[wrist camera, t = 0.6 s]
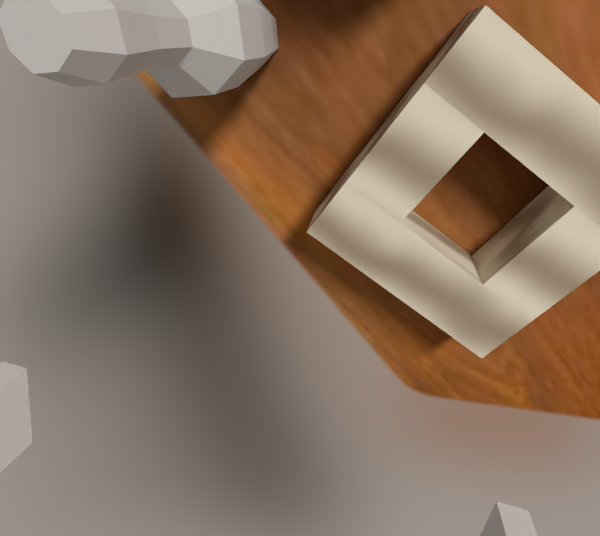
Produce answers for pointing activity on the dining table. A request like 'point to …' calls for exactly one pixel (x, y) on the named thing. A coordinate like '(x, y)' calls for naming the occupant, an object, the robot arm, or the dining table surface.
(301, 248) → the dining table surface
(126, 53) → the low poly bottle
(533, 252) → the socket block
